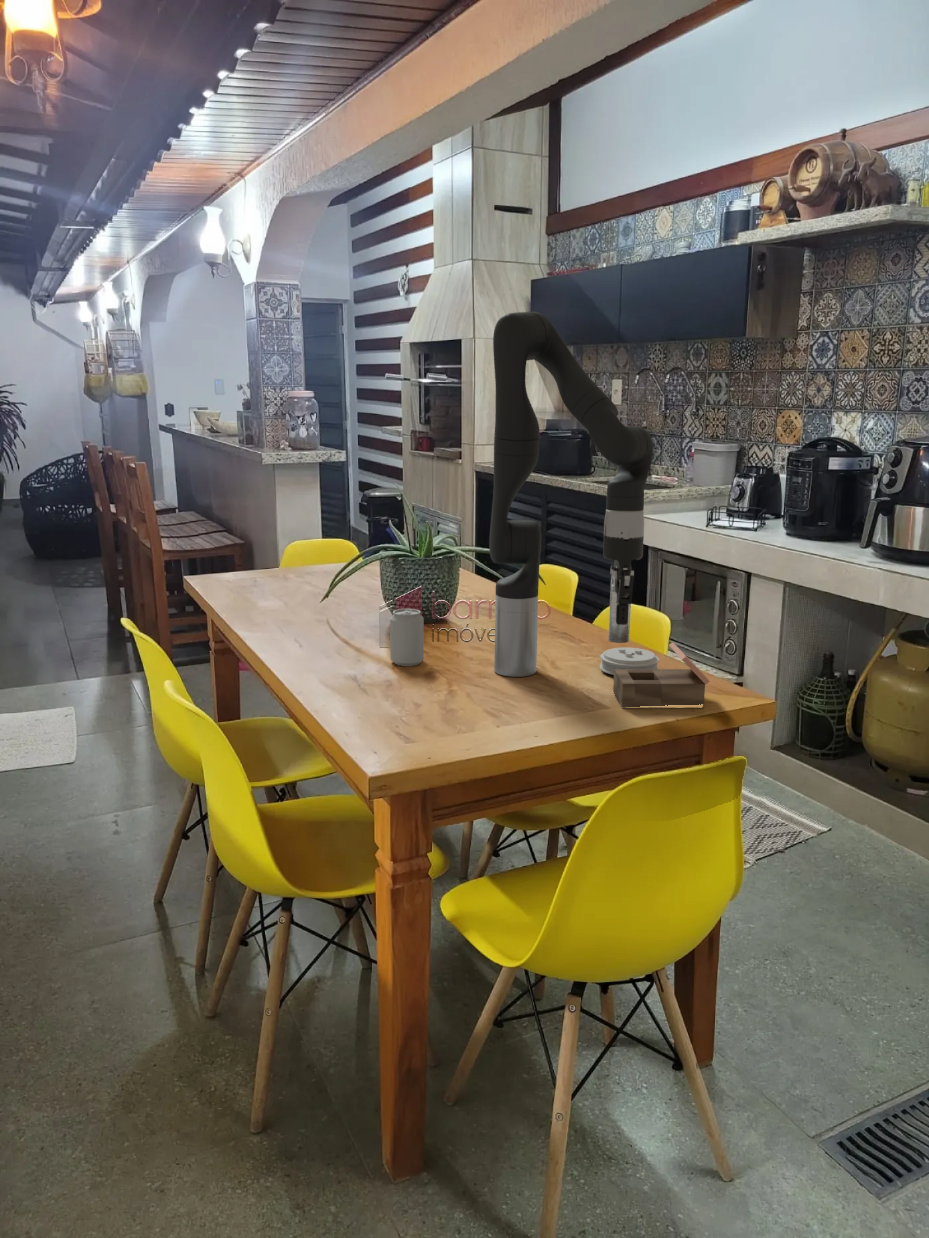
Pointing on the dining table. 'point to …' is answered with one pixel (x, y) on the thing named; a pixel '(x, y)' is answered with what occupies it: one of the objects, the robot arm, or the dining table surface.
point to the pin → (616, 631)
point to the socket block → (657, 687)
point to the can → (406, 637)
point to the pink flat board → (689, 663)
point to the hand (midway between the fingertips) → (620, 621)
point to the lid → (627, 659)
